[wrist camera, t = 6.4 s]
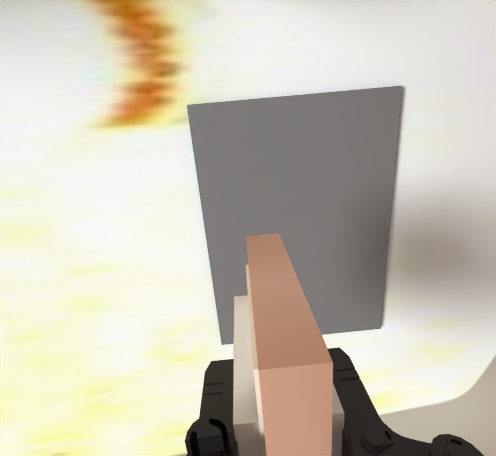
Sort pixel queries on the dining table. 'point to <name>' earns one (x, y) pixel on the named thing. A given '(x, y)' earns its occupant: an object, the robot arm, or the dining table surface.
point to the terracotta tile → (286, 356)
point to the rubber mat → (301, 196)
